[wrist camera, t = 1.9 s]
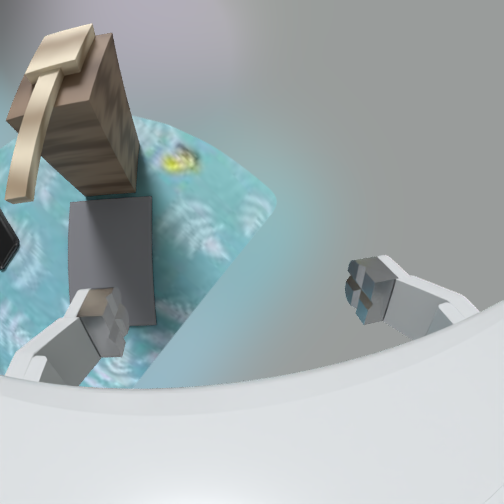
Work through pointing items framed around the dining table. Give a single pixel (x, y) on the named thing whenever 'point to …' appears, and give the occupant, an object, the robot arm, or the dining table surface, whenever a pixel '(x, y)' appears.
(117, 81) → the walnut stand
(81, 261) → the rubber mat
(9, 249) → the phone
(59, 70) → the beech spatula
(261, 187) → the dining table surface
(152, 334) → the dining table surface
